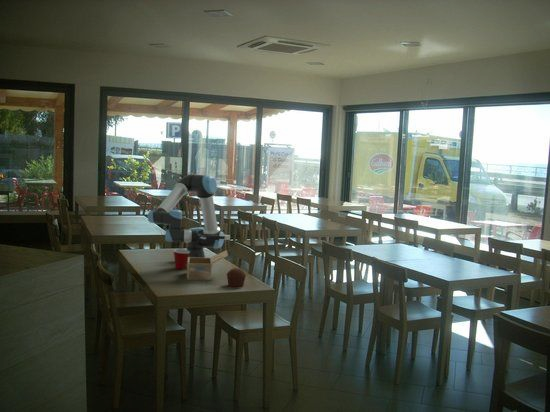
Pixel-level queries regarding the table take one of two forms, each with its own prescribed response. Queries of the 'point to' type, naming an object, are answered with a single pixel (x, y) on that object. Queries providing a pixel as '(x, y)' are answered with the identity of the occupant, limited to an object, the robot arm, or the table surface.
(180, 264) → the plastic cup
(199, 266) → the light wood open box
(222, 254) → the flap
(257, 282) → the table surface
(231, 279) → the muffin
